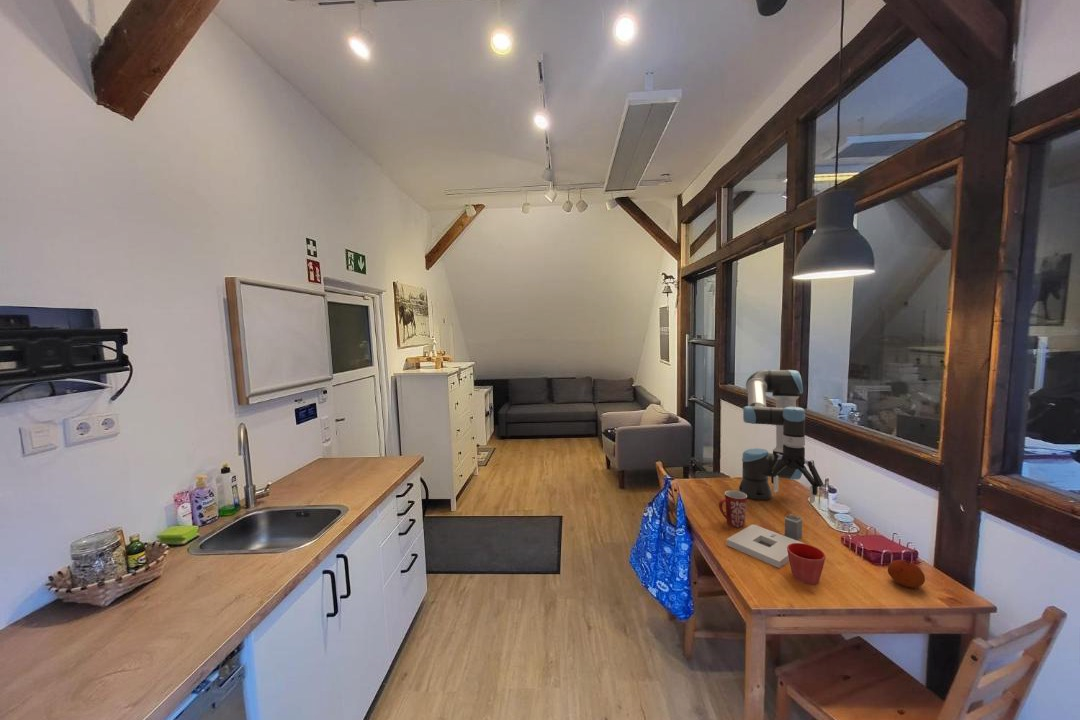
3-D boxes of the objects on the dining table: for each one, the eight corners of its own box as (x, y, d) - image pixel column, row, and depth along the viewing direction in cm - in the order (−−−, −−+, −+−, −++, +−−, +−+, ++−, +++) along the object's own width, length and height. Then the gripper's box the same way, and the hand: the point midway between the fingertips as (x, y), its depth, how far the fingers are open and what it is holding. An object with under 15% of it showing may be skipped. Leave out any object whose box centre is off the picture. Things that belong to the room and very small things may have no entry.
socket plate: (752, 529, 171) (752, 523, 171) (804, 549, 155) (804, 542, 154) (726, 545, 160) (726, 538, 160) (779, 568, 143) (779, 561, 143)
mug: (737, 517, 182) (737, 489, 181) (752, 527, 173) (751, 496, 172) (713, 521, 180) (712, 492, 179) (726, 531, 171) (725, 500, 170)
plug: (789, 532, 168) (790, 514, 167) (802, 537, 164) (802, 518, 163) (784, 536, 165) (784, 517, 164) (796, 540, 161) (797, 521, 161)
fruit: (931, 589, 129) (932, 565, 129) (910, 594, 127) (910, 570, 127) (901, 573, 138) (902, 551, 137) (881, 578, 136) (881, 555, 135)
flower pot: (826, 591, 130) (826, 563, 129) (786, 581, 136) (786, 554, 135) (824, 574, 139) (824, 547, 138) (787, 565, 145) (787, 539, 144)
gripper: (757, 441, 170) (757, 489, 171) (825, 454, 149) (824, 509, 151) (766, 438, 174) (766, 485, 175) (833, 450, 154) (833, 504, 155)
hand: (793, 496), depth 163 cm, fingers open, 13 cm apart
